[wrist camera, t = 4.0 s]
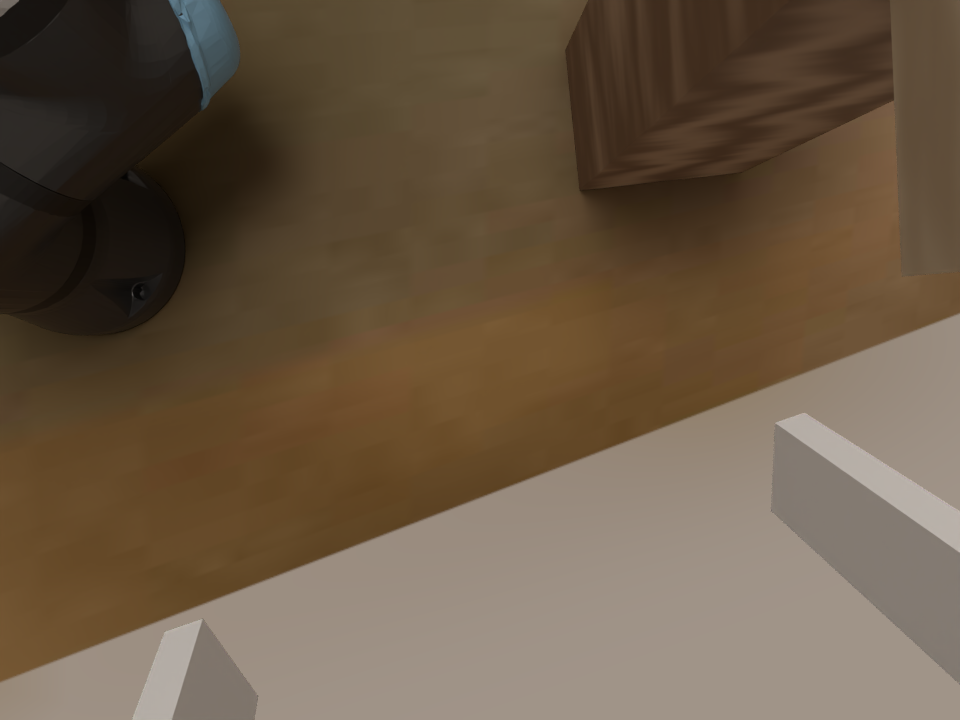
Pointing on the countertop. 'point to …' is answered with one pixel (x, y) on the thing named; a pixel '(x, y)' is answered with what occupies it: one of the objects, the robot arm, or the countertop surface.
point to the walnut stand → (718, 82)
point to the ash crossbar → (927, 132)
